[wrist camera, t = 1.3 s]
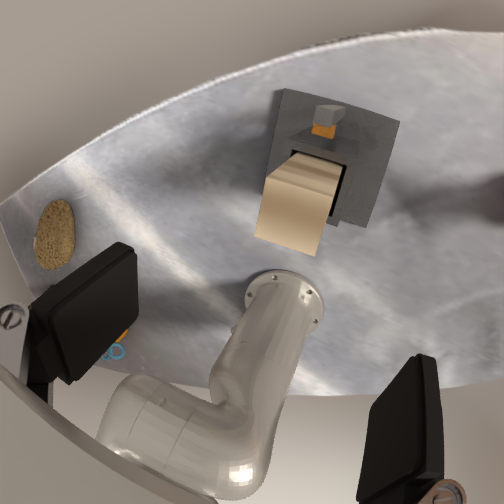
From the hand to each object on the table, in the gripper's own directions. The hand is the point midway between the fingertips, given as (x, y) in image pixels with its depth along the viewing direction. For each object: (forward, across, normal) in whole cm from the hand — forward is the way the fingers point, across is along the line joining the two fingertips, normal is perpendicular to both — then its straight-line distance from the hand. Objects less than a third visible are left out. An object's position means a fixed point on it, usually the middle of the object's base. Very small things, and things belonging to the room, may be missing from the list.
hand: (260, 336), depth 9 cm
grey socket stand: (+32, +1, 0) cm, 32 cm away
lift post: (+30, +1, 0) cm, 30 cm away
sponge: (+33, +51, +28) cm, 67 cm away
